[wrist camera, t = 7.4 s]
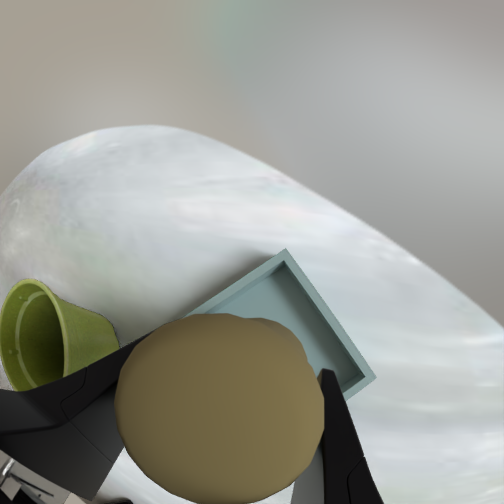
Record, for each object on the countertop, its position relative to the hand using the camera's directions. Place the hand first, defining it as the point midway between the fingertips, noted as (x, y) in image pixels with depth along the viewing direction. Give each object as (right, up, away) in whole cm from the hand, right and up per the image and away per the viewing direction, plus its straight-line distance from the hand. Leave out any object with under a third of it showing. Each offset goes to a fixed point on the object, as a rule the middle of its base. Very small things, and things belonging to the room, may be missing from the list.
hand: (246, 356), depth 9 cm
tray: (+1, -4, +11) cm, 12 cm away
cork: (0, -3, +6) cm, 7 cm away
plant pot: (-14, -5, +13) cm, 20 cm away
